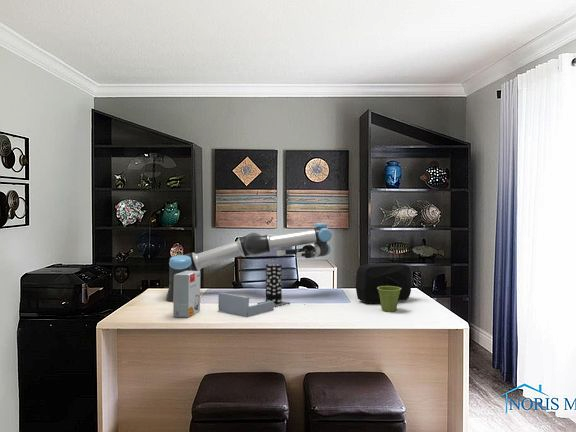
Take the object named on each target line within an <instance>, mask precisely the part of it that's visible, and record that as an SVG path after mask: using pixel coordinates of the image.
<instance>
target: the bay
mask: <svg viewBox="0 0 576 432" xmlns="http://www.w3.org/2000/svg"><path fill="white" fill-rule="evenodd" d="M264 302H265V301H264ZM249 303H250V297H248V296H245V295H244V296H243V295H237V294H236V295H235V294H232V293H225V292H218V312H220V313H221V312H222V313H225V314H230V315H236V316H241V317H245V318H249V317H252V316H253V317H254V316H257V315H260V314H264V313H269V312H273V311H274V310H275V308H274V301H269V302H265V303H261V304H254V305H250V304H249Z"/></svg>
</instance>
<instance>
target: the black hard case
mask: <svg viewBox="0 0 576 432" xmlns="http://www.w3.org/2000/svg"><path fill="white" fill-rule="evenodd" d="M380 286H395V287H400V288H401V290H400V294H399V298H398V302H401V301H406V300H408V299H409V298H410V295H411V294H412V293H411V292H412V273H411V267H410V266H408V265H407V264H403V263H399V262H398V263H397V262H384V263H371V264H368V263H367V264H363V265H359V266H358V267H357V270H356V276H355V292H356V295H357V296H356V297H357V300H359V301H360V302H363V303H366V304H371V305H372V304H381V302H380V295H379V291H378V289H377V287H380Z"/></svg>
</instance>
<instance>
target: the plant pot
mask: <svg viewBox="0 0 576 432" xmlns="http://www.w3.org/2000/svg"><path fill="white" fill-rule="evenodd" d="M377 289H378V291H379V295H380V302H381V303H380V308H381V311H383V312H388V313H391V312H396V311H397V310H398V309H397V308H398V303H399V301H398V298H399V294H400V290H401V288H400V287H395V286H380V287H377Z"/></svg>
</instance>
